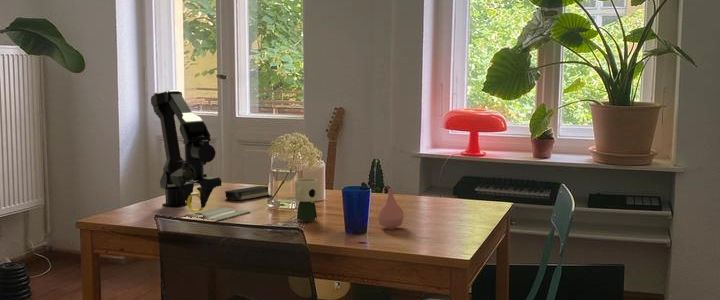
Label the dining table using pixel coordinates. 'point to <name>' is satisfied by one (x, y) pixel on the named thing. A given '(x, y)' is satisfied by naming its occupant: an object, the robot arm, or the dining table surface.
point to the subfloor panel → (219, 213)
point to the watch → (190, 202)
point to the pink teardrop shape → (390, 212)
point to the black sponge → (247, 193)
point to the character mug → (306, 198)
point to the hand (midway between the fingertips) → (196, 206)
